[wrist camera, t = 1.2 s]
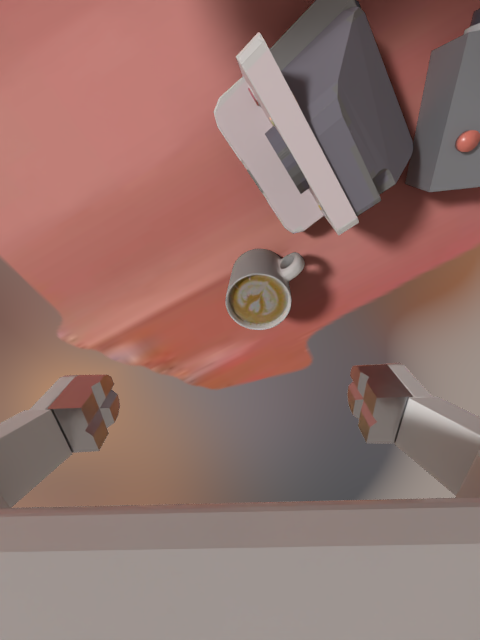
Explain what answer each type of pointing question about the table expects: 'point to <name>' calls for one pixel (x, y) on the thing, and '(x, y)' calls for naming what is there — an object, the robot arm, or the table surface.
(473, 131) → the camera box
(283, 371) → the table surface
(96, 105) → the table surface
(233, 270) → the coffee mug
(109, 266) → the table surface
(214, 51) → the table surface
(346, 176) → the instant camera
